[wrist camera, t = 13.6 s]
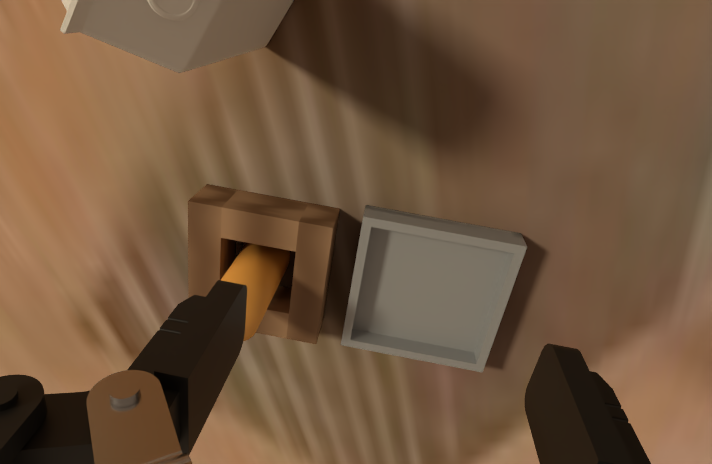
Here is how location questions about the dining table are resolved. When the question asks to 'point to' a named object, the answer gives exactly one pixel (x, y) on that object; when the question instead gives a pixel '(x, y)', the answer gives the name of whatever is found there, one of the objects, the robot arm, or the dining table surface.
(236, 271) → the plug
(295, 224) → the socket block
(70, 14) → the milk carton
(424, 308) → the tray
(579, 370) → the robot arm
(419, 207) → the dining table surface
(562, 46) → the dining table surface
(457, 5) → the dining table surface
